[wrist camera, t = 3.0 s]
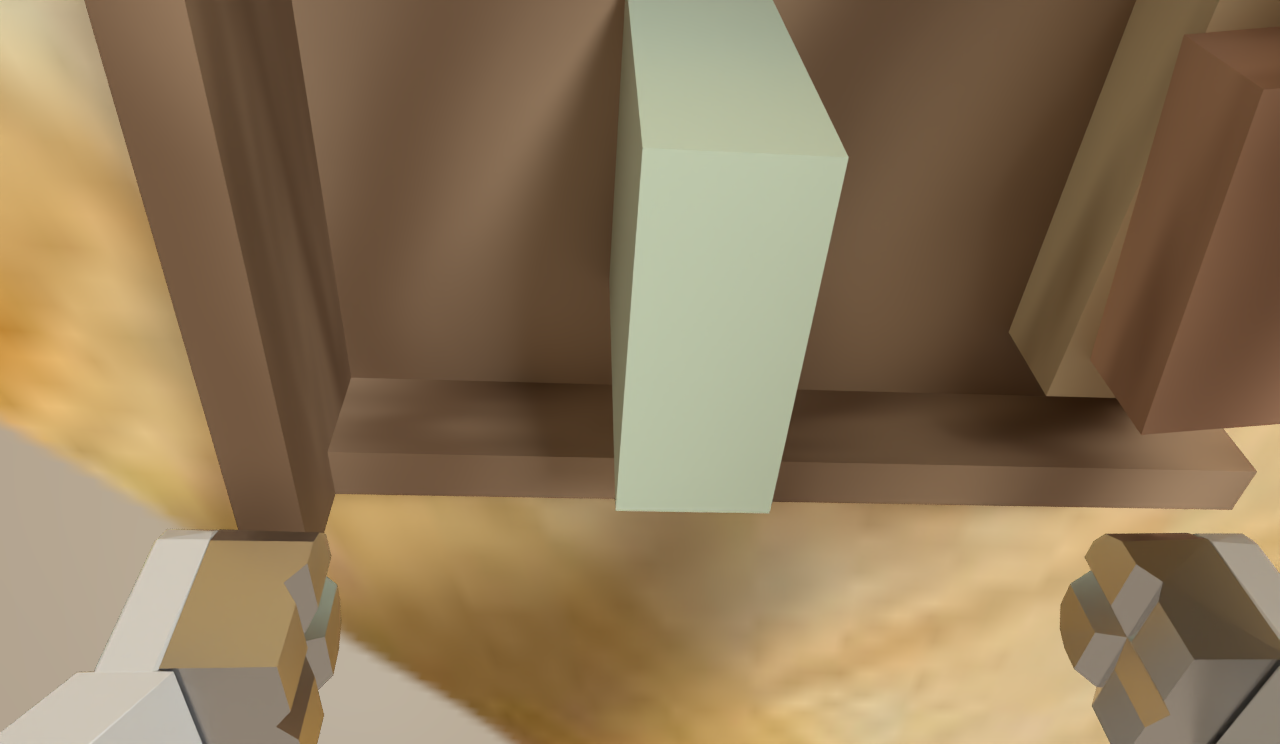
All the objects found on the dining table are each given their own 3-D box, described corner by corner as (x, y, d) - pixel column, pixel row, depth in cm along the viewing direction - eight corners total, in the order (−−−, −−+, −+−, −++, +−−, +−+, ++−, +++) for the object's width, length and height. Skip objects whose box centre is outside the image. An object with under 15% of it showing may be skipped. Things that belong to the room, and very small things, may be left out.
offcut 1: (1410, -35, 16) (1508, 5, 14) (1206, 338, 21) (1260, 401, 19) (1156, -52, 16) (1224, -12, 14) (1008, 332, 21) (1046, 396, 19)
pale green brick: (766, -13, 16) (849, 156, 11) (723, 283, 20) (769, 513, 15) (626, -21, 16) (642, 147, 11) (609, 280, 20) (615, 510, 14)
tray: (1536, -243, 15) (1873, -195, 11) (1168, 421, 24) (1282, 580, 20) (162, -355, 13) (-17, -347, 9) (310, 400, 22) (249, 568, 18)
